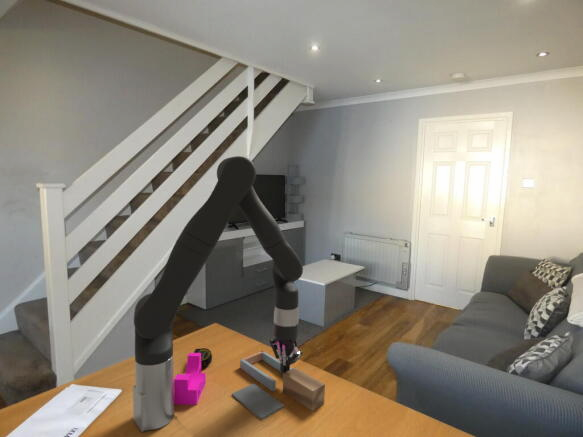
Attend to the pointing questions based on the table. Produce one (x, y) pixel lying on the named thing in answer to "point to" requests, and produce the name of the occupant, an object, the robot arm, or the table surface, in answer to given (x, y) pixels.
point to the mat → (258, 401)
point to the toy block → (190, 382)
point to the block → (304, 388)
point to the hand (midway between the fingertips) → (284, 374)
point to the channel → (256, 373)
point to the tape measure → (204, 356)
